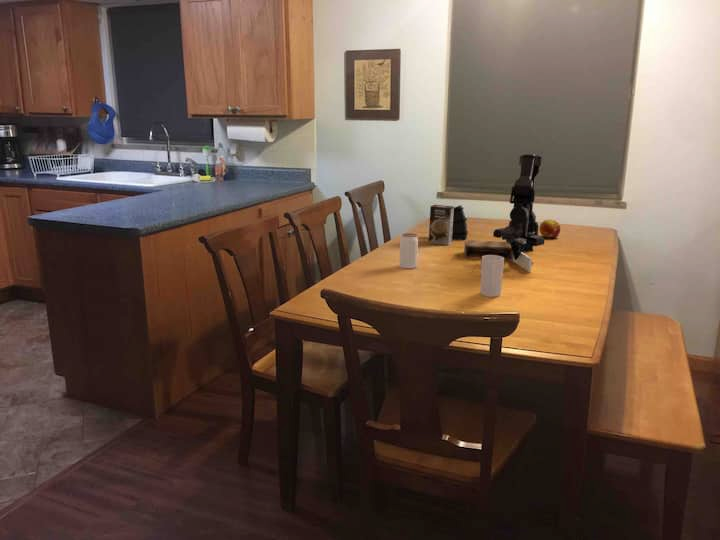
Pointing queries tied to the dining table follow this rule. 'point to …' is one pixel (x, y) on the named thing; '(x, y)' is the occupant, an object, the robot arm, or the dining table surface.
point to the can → (408, 251)
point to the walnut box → (487, 249)
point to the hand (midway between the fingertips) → (515, 259)
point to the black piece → (459, 224)
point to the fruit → (550, 228)
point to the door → (523, 261)
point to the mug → (491, 275)
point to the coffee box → (441, 224)
